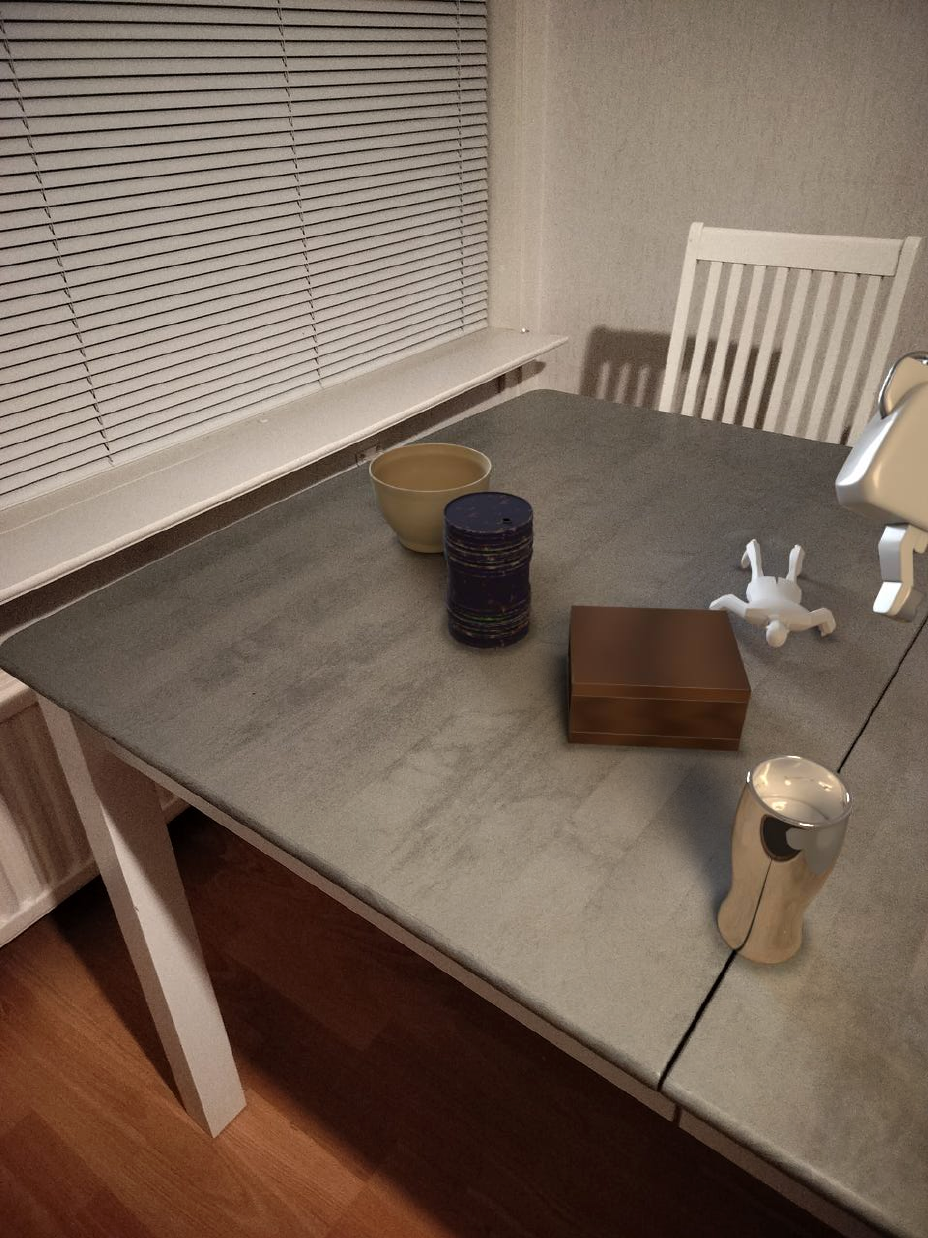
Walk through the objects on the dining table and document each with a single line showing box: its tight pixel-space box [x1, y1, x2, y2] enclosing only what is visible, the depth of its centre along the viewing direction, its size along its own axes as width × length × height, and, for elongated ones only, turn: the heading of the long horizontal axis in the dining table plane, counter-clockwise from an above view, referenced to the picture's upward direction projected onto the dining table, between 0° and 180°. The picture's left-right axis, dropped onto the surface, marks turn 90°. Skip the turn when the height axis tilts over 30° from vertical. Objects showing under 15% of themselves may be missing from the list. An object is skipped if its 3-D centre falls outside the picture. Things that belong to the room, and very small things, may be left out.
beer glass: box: [717, 752, 854, 965], centre depth 58 cm, size 7×7×15 cm
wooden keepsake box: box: [566, 604, 752, 752], centre depth 82 cm, size 16×13×8 cm
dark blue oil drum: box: [443, 490, 535, 651], centre depth 92 cm, size 10×10×15 cm
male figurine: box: [708, 538, 837, 648], centre depth 94 cm, size 14×6×25 cm
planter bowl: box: [368, 442, 493, 554], centre depth 111 cm, size 16×16×11 cm
